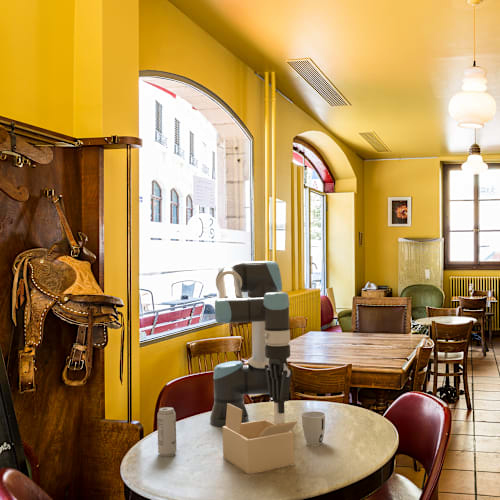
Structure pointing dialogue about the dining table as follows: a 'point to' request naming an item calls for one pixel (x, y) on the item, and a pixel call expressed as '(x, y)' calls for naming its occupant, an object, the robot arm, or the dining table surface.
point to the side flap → (234, 418)
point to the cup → (313, 427)
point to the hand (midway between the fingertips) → (279, 423)
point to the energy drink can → (166, 431)
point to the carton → (257, 447)
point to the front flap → (277, 429)
